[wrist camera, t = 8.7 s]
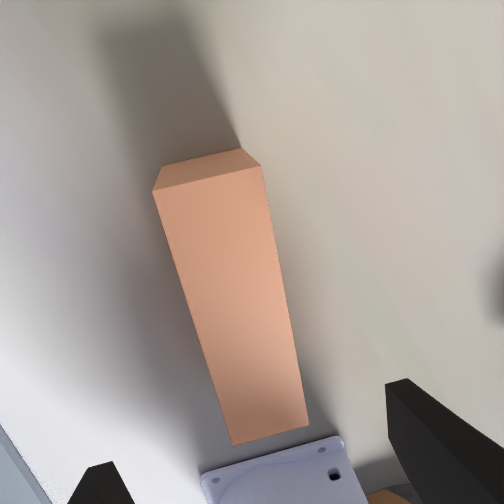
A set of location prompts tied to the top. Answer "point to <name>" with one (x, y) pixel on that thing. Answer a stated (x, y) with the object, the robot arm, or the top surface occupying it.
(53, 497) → the top surface
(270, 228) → the salmon pink cuboid
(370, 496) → the cage light
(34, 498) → the jig
